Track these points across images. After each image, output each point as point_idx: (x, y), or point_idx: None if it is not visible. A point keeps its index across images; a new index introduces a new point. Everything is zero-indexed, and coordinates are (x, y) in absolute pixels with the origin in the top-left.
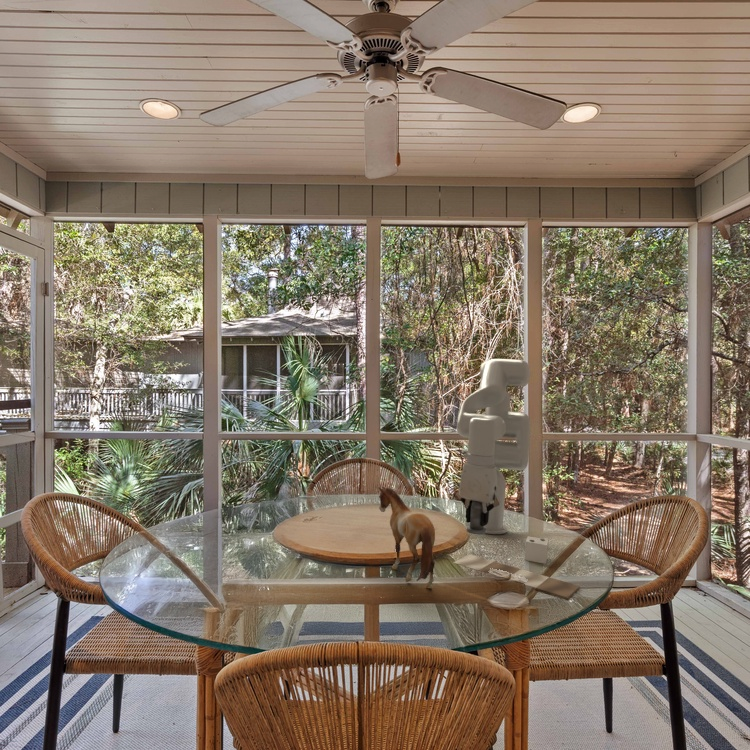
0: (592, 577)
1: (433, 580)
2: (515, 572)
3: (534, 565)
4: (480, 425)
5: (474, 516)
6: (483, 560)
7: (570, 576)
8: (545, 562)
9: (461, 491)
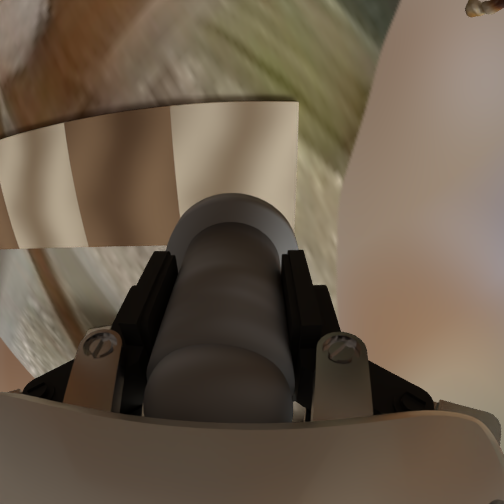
0: (9, 326)
1: None
2: (78, 203)
3: (103, 314)
4: None
5: (215, 278)
6: None
7: (22, 302)
8: (85, 335)
9: (483, 482)
